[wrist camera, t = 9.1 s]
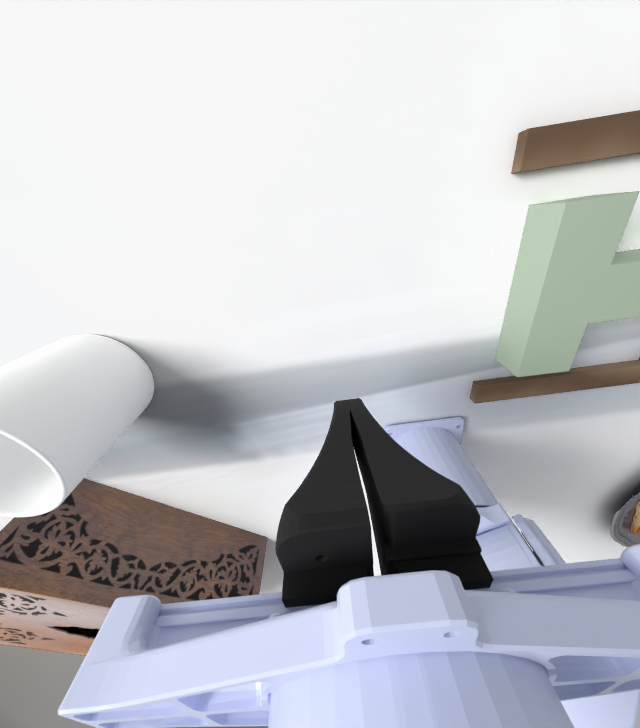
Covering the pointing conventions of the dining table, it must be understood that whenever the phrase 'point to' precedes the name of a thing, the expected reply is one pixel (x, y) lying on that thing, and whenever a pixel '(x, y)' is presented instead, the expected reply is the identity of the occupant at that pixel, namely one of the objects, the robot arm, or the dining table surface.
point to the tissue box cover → (113, 564)
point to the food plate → (627, 523)
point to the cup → (64, 417)
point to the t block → (568, 281)
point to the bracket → (556, 150)
